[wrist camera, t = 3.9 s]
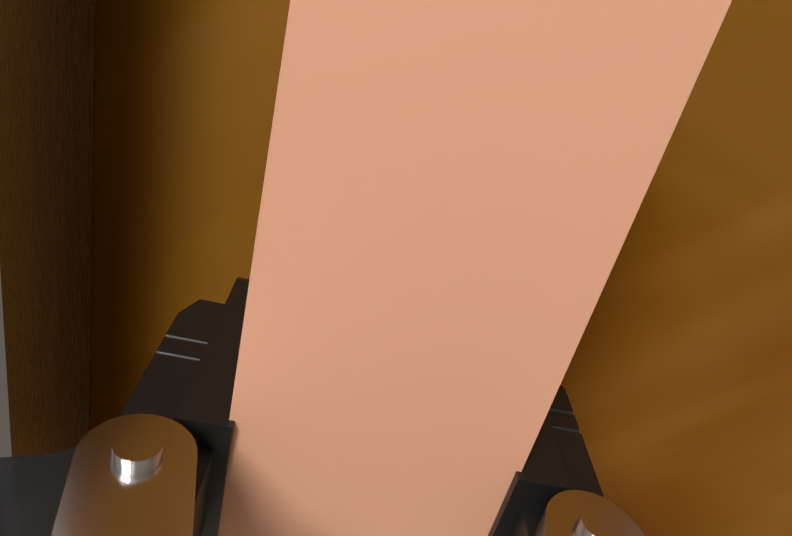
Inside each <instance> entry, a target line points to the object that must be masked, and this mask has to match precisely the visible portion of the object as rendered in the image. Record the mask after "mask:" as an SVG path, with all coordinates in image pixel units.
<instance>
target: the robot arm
mask: <svg viewBox="0 0 792 536" xmlns="http://www.w3.org/2000/svg"><path fill="white" fill-rule="evenodd" d="M248 287H249V279H244V278H240V277H238V278H237V279H236V281H235V284H234V286H233V288H232V290H231V292H230V295H229V297H228V299H227V301H226V303H225V304H221V303H216V302H211V301H206V300H201V299H200V300H198V301H197V302H195V303H194V304H192V305H190V306H189V307H187V308H186V309H184V310H183V311H181V312H180V313H178V314H177V316H176V318H175V319H174V321H173V323H172V325H171V326H170V328H169V330H168V332H167V334H166V337H164V339H163V341H162V342H161V344H160V346H159V348H158V349H157V353H156V354H155V355H154V356H153V358H152V360H151V362H150V363H149V365H148V367H147V369H146V370H145V372H144V374H143V376H142V377H141V379H140V381H139V383H138V384H137V386H136V388H135V390H134V392H133V393H132V395H131V397H130V399H129V400H128V402H127V404H126V406H125V407H124V409H123V411H122V413H121V414H120V416H119V417H116V418H113V419H111V420H108V421H105V422H103V423H101V424H100V425H98V426H96V427H95V428H93V429H92V430H91V431H89V432H88V433H87V434H86V435H85V436H84V437H83V438H82V439H81V441H80V442H79V444H78V445H77V447H76V448H73V449H70V450H66V451H61V452H57V453H49V454H40V455H26V456H13V457H0V536H217V535H218V529H219V522H220V516H221V509H222V503H223V496H224V489H225V483H226V476H227V470H228V463H229V457H230V450H231V443H232V437H233V430H234V424H235V421H232V420H229V417H230V410H231V403H232V396H233V389H234V382H235V376H236V369H237V362H238V355H239V348H240V341H241V335H242V328H243V321H244V314H245V307H246V300H247V294H248ZM572 412H573V410H572V408H571V405H570V402H569V399H568V396H567V394H566V391H565V389H564V388H563V386H562V385H561V384H560V386H559V389H558V391H557V393H556V395H555V398H554V400H553V402H552V404H551V407H550V409H549V411H548V413H547V416H546V418H545V420H544V422H543V424H542V427H541V429H540V431H539V433H538V436H537V438H536V440H535V442H534V445H533V447H532V449H531V451H530V454H529V456H528V458H527V460H526V463H525V465H524V467H523V469H522V472H519V471H516V473H515V475H514V477H513V480H512V482H511V484H510V486H509V489H508V491H507V493H506V496H505V498H504V500H503V502H502V505H501V507H500V509H499V511H498V514H497V516H496V518H495V520H494V523H493V525H492V527H491V530H490V532H489V534H488V536H645V535H644V533H643V532H642V530H641V528H640V527H639V526H638V524H637V523H636V522H635V521H634V519H633V518H632V517H631V516H630V515H629V514H628V513H626V512H625V511H624V510H623V509H622V508H620V507H619V506H618V505H616V504H615V503H613V502H612V501H610V500H608V499H606V498H604V496H603V493H602V491H601V488H600V485H599V482H598V480H597V477H596V474H595V471H594V469H593V466H592V463H591V460H590V457H589V455H588V452H587V449H586V446H585V444H584V441H583V438H582V435H581V434H579V427H578V424H577V421H576V419H575V416H574V415H572Z"/></svg>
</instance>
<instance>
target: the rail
mask: <svg viewBox="0 0 792 536" xmlns="http://www.w3.org/2000/svg"><path fill="white" fill-rule="evenodd" d="M94 60H95V0H0V457H13V456H26V455H40V454H49V453H57V452H61V451H66V450H70V449H73V448H76V447H77V445H78V444H79V442H80V441H81V439H82V438H83V437H84V436H85V435H86V434H87V433H88V432H89V403H90V334H91V266H92V197H93V128H94Z"/></svg>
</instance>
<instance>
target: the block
mask: <svg viewBox="0 0 792 536" xmlns="http://www.w3.org/2000/svg"><path fill="white" fill-rule="evenodd" d="M731 1H732V0H290V7H289V13H288V20H287V27H286V34H285V41H284V48H283V54H282V61H281V68H280V75H279V82H278V89H277V95H276V102H275V109H274V116H273V123H272V130H271V136H270V143H269V150H268V157H267V164H266V171H265V177H264V184H263V191H262V198H261V205H260V212H259V218H258V225H257V232H256V239H255V246H254V253H253V259H252V266H251V273H250V280H249V287H248V294H247V300H246V307H245V314H244V321H243V328H242V335H241V341H240V348H239V355H238V362H237V369H236V376H235V382H234V389H233V396H232V403H231V410H230V417H229V420H232V421H235V424H234V430H233V437H232V443H231V450H230V457H229V463H228V470H227V476H226V483H225V489H224V496H223V503H222V509H221V516H220V522H219V529H218V535H217V536H488V534H489V532H490V530H491V527H492V525H493V523H494V520H495V518H496V516H497V514H498V511H499V509H500V507H501V505H502V502H503V500H504V498H505V496H506V493H507V491H508V489H509V486H510V484H511V482H512V480H513V477H514V475H515V473H516V471H519V472H522V469H523V467H524V465H525V463H526V460H527V458H528V456H529V454H530V451H531V449H532V447H533V445H534V442H535V440H536V438H537V436H538V433H539V431H540V429H541V427H542V424H543V422H544V420H545V418H546V416H547V413H548V411H549V409H550V407H551V404H552V402H553V400H554V398H555V395H556V393H557V391H558V389H559V386H560V384H561V382H562V380H563V377H564V375H565V373H566V371H567V369H568V366H569V364H570V362H571V360H572V357H573V355H574V353H575V351H576V348H577V346H578V344H579V342H580V339H581V337H582V335H583V333H584V330H585V328H586V326H587V324H588V321H589V319H590V317H591V315H592V313H593V310H594V308H595V306H596V304H597V301H598V299H599V297H600V295H601V292H602V290H603V288H604V286H605V283H606V281H607V279H608V277H609V274H610V272H611V270H612V268H613V265H614V263H615V261H616V259H617V257H618V254H619V252H620V250H621V248H622V245H623V243H624V241H625V239H626V236H627V234H628V232H629V230H630V227H631V225H632V223H633V221H634V218H635V216H636V214H637V212H638V210H639V207H640V205H641V203H642V201H643V198H644V196H645V194H646V192H647V189H648V187H649V185H650V183H651V180H652V178H653V176H654V174H655V171H656V169H657V167H658V165H659V162H660V160H661V158H662V156H663V154H664V151H665V149H666V147H667V145H668V142H669V140H670V138H671V136H672V133H673V131H674V129H675V127H676V124H677V122H678V120H679V118H680V115H681V113H682V111H683V109H684V106H685V104H686V102H687V100H688V98H689V95H690V93H691V91H692V89H693V86H694V84H695V82H696V80H697V77H698V75H699V73H700V71H701V68H702V66H703V64H704V62H705V59H706V57H707V55H708V53H709V51H710V48H711V46H712V44H713V42H714V39H715V37H716V35H717V33H718V30H719V28H720V26H721V24H722V21H723V19H724V17H725V15H726V12H727V10H728V8H729V6H730V3H731Z"/></svg>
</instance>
